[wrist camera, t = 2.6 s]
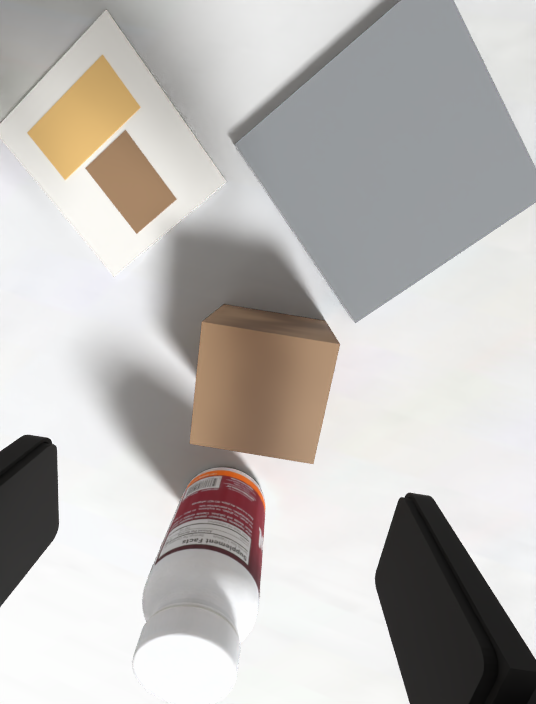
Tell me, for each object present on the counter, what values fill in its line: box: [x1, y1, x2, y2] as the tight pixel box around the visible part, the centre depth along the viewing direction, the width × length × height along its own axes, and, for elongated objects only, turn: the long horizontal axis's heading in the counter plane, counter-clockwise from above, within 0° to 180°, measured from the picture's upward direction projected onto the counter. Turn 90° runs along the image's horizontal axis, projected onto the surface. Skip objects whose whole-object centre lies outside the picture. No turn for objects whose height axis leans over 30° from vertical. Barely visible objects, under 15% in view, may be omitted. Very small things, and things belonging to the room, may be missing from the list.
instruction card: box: [0, 9, 226, 277], centre depth 19 cm, size 10×9×1 cm
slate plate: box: [235, 0, 536, 323], centre depth 18 cm, size 12×12×1 cm
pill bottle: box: [132, 467, 265, 704], centre depth 20 cm, size 6×6×11 cm
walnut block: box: [190, 304, 340, 464], centre depth 19 cm, size 6×6×6 cm
